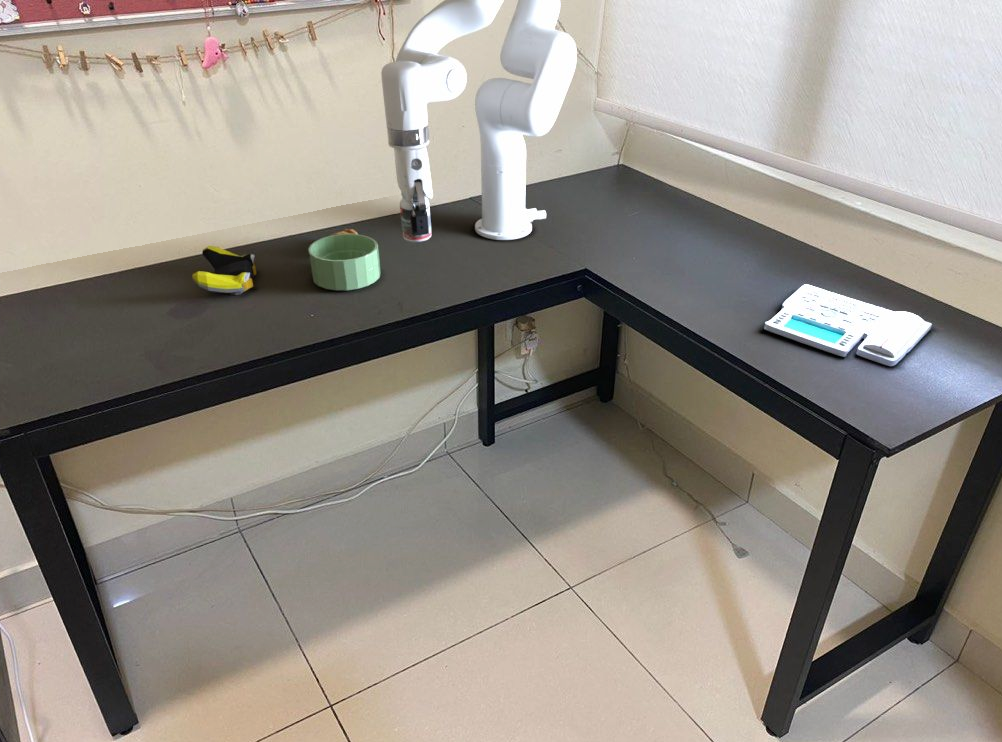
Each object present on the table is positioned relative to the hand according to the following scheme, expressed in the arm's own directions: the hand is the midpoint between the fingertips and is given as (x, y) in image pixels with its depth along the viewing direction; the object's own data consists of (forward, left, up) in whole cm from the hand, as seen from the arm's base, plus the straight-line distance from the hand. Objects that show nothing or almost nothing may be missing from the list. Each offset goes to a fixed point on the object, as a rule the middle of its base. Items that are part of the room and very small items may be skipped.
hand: (416, 227), depth 156 cm
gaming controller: (+37, -4, -8) cm, 38 cm away
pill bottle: (0, 0, -2) cm, 2 cm away
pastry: (+14, -13, -8) cm, 20 cm away
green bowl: (+15, +1, -8) cm, 17 cm away
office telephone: (-64, +49, -8) cm, 82 cm away
